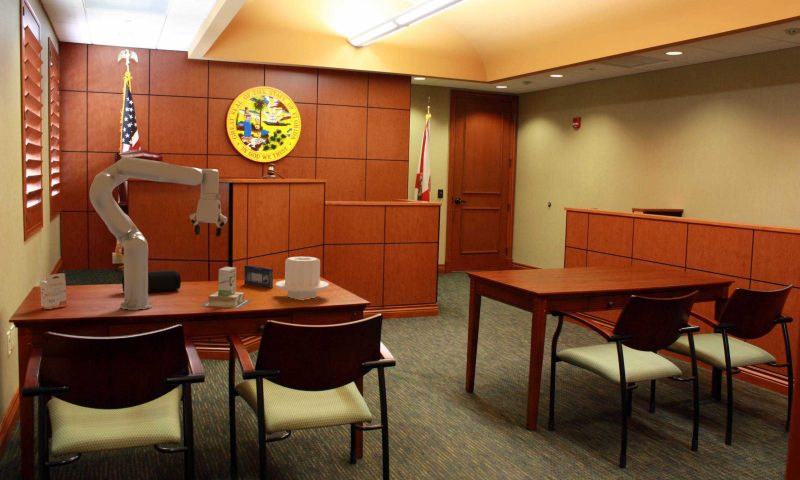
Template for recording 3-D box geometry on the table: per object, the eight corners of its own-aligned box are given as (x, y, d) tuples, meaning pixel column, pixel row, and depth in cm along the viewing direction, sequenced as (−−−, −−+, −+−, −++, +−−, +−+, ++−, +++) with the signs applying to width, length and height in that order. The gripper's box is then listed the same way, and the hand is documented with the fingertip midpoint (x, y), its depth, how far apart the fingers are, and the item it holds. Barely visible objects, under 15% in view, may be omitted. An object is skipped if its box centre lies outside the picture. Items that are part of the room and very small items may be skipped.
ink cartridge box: (60, 305, 290) (59, 271, 289) (66, 307, 288) (66, 272, 286) (40, 308, 283) (39, 274, 281) (47, 310, 281) (46, 275, 279)
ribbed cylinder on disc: (265, 296, 322) (265, 257, 320) (305, 290, 341) (306, 253, 338) (297, 305, 306) (298, 264, 303) (339, 298, 324) (340, 259, 322)
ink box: (225, 292, 305) (225, 266, 304) (236, 292, 304) (236, 267, 303) (217, 295, 297) (217, 269, 295) (228, 296, 296) (228, 269, 295)
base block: (235, 306, 295) (235, 297, 294) (208, 305, 296) (208, 296, 295) (244, 301, 306) (244, 292, 306) (218, 299, 308) (218, 291, 307)
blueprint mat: (239, 310, 291) (239, 308, 291) (199, 308, 293) (199, 305, 293) (252, 302, 309) (252, 299, 309) (214, 300, 311) (214, 297, 311)
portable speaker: (177, 288, 336) (176, 268, 335) (181, 292, 327) (181, 271, 326) (121, 291, 323) (121, 271, 322) (124, 295, 315) (124, 274, 313)
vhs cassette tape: (243, 284, 353) (244, 265, 352) (248, 283, 355) (248, 264, 354) (268, 289, 342) (269, 269, 341) (273, 288, 345) (273, 268, 344)
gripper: (231, 198, 301) (229, 236, 302) (194, 195, 303) (193, 233, 305) (224, 198, 293) (223, 237, 295) (186, 195, 296) (185, 234, 297)
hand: (207, 235), depth 300 cm, fingers open, 9 cm apart
